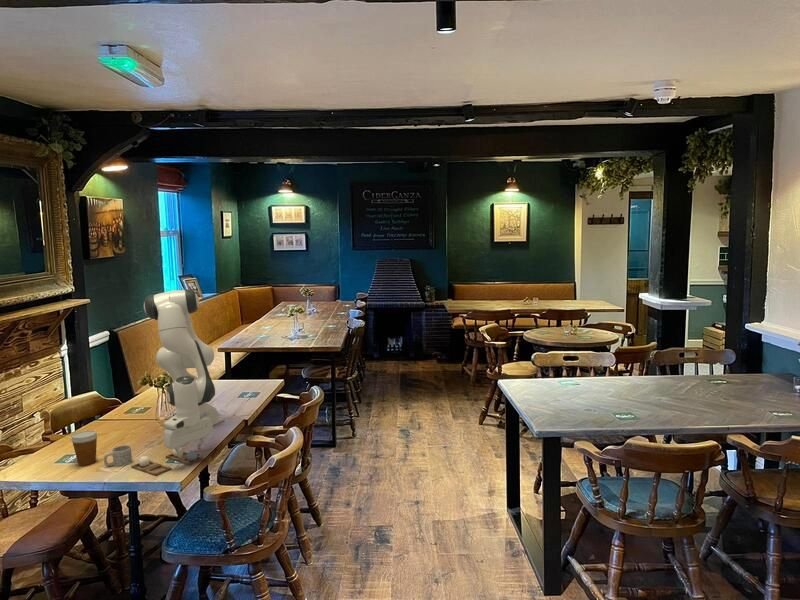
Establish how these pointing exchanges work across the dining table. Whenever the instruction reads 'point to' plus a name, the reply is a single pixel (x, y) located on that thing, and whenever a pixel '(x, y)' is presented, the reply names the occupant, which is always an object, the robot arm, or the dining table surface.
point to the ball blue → (192, 456)
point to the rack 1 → (152, 468)
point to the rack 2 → (185, 459)
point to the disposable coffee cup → (85, 447)
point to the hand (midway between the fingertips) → (190, 452)
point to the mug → (119, 456)
